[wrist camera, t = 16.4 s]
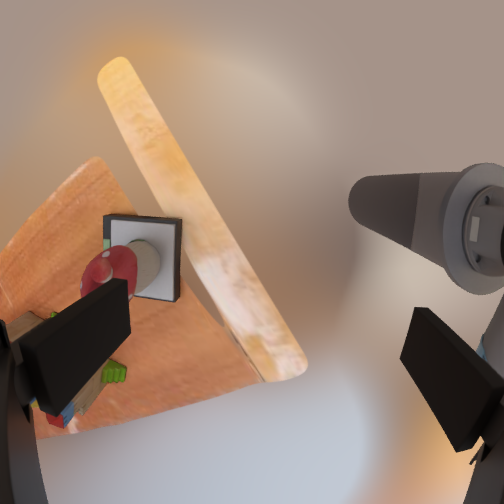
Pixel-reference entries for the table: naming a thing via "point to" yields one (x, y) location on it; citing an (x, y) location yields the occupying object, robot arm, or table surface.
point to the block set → (90, 390)
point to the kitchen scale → (158, 235)
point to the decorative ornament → (123, 267)
